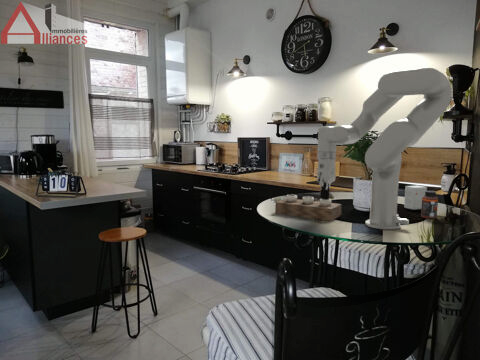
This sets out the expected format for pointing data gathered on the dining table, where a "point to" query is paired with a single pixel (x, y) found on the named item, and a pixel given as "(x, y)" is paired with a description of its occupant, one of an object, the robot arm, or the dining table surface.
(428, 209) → the supplement bottle
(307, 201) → the knob middle
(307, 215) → the knob mount
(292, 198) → the knob far
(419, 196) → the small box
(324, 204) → the knob near
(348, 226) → the dining table surface
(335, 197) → the dining table surface
